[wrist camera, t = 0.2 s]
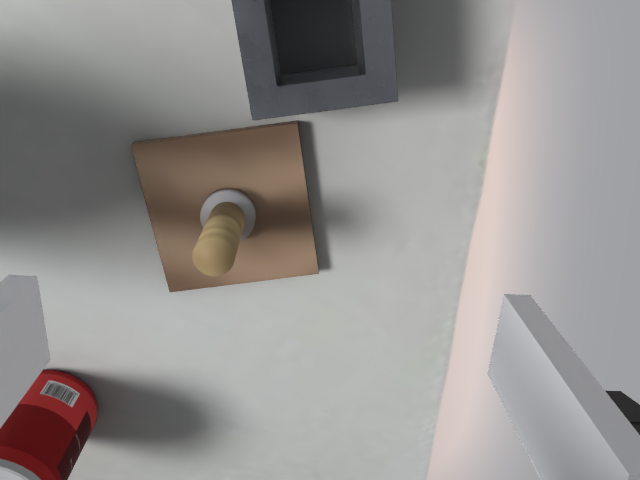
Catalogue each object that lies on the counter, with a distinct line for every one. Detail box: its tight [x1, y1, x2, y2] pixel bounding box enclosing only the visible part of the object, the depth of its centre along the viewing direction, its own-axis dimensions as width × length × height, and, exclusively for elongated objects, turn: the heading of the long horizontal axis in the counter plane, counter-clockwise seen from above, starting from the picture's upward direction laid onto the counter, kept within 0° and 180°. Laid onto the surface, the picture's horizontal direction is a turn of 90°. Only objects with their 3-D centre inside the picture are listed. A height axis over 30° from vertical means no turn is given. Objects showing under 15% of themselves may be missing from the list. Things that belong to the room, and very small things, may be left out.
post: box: [131, 121, 319, 292], centre depth 38 cm, size 12×12×9 cm
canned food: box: [0, 370, 97, 480], centre depth 44 cm, size 8×8×11 cm
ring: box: [232, 0, 398, 120], centre depth 35 cm, size 9×9×6 cm
